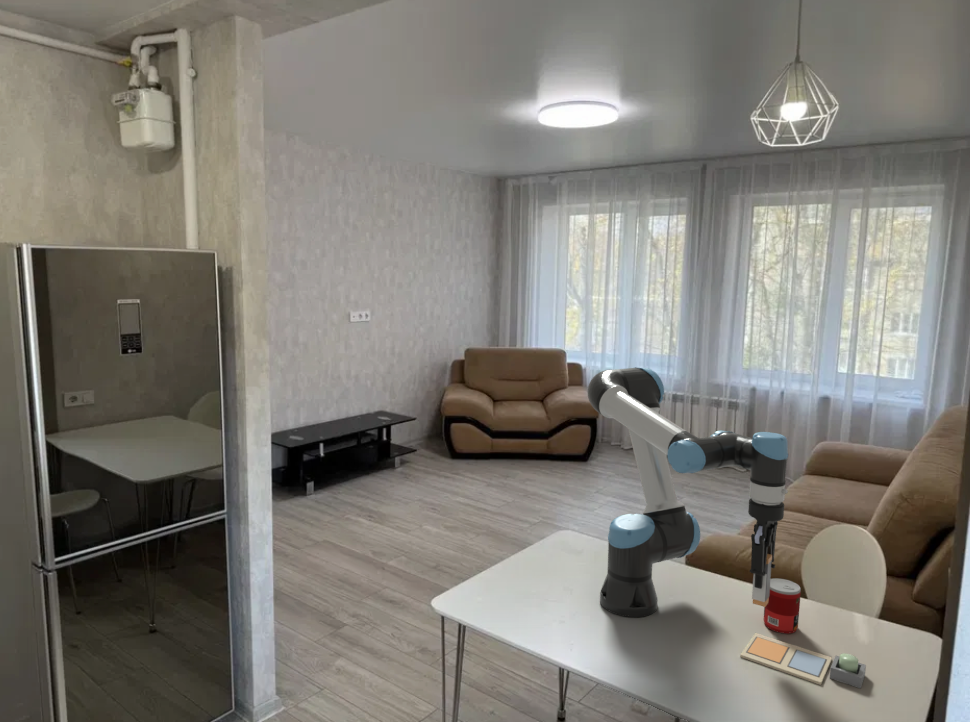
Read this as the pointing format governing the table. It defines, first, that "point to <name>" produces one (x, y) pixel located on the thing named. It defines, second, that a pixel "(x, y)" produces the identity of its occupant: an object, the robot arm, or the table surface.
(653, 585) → the robot arm
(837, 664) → the button collar
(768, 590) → the marker
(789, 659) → the sheet
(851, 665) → the button
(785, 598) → the canned food
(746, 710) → the table surface
